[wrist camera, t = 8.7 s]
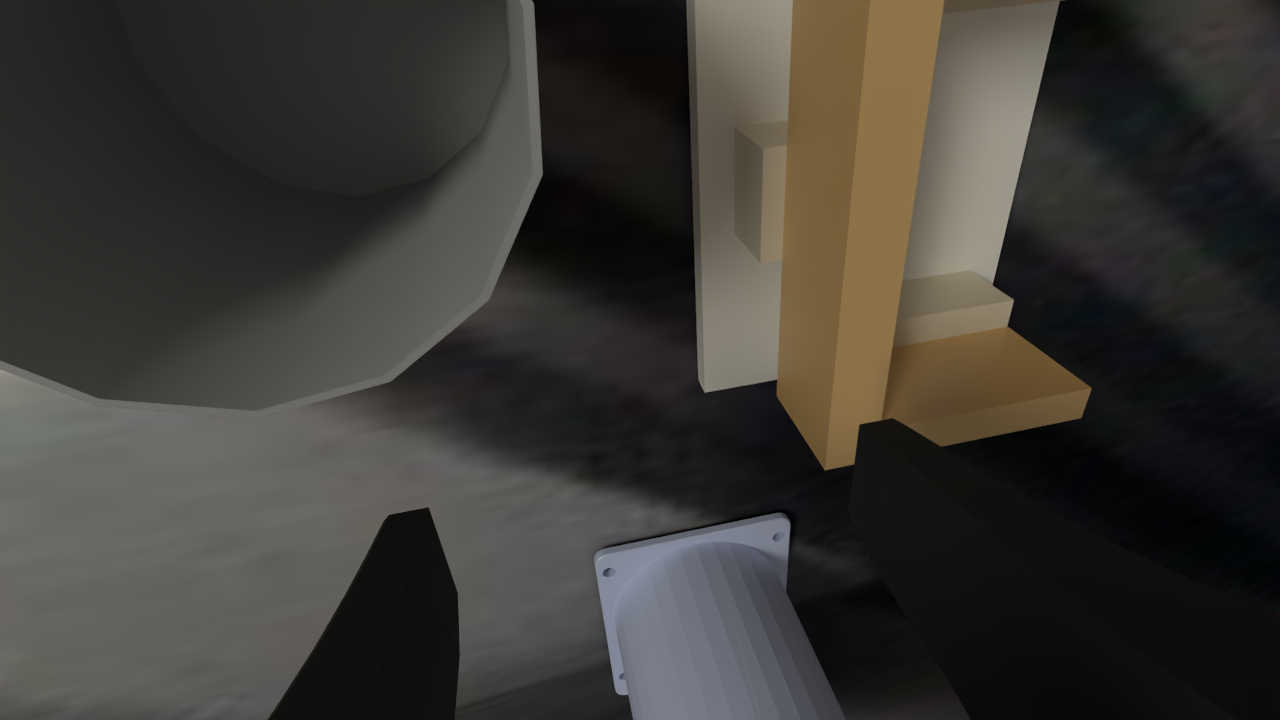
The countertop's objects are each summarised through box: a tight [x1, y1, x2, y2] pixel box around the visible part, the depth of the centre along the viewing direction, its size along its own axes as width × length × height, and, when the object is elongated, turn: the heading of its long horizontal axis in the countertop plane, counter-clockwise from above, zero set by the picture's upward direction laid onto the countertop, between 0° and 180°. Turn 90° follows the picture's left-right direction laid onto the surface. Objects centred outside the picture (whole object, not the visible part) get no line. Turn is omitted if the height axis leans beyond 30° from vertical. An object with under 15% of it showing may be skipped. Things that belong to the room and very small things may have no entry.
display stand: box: [686, 0, 1063, 392], centre depth 19 cm, size 10×14×3 cm
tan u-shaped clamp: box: [777, 0, 1092, 470], centre depth 16 cm, size 7×12×3 cm, turn 5°
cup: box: [0, 0, 543, 418], centre depth 11 cm, size 8×8×10 cm
